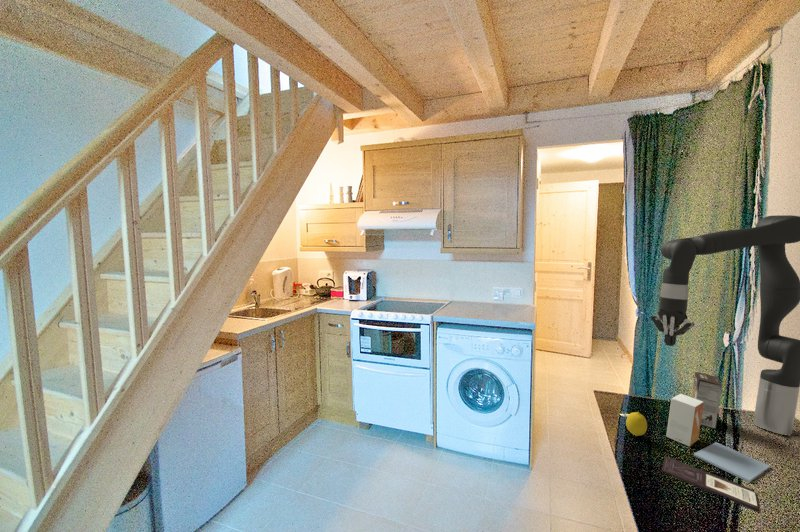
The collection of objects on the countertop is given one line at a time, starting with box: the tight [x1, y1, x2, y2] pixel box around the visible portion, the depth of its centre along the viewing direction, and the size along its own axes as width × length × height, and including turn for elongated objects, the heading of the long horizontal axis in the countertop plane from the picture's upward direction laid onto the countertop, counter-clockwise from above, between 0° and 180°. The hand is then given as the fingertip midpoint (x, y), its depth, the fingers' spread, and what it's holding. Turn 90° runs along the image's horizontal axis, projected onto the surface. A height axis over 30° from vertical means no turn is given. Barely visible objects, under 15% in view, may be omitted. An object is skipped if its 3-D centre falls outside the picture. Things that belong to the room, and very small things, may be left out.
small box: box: [665, 393, 704, 447], centre depth 108 cm, size 8×6×13 cm
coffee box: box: [691, 371, 723, 429], centre depth 121 cm, size 9×6×16 cm
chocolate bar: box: [661, 455, 759, 512], centre depth 88 cm, size 9×1×18 cm
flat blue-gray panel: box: [693, 441, 771, 483], centre depth 97 cm, size 15×12×1 cm
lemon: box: [625, 411, 648, 437], centre depth 108 cm, size 6×6×8 cm
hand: (669, 345), depth 118 cm, fingers closed
